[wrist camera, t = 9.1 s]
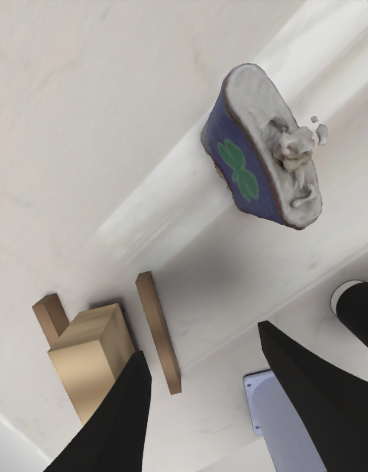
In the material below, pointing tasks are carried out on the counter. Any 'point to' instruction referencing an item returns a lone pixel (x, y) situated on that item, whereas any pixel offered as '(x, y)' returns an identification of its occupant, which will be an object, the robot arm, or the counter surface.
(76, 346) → the light wooden block
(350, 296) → the dixie cup
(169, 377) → the peg frame
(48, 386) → the counter surface
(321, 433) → the robot arm
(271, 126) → the flask
